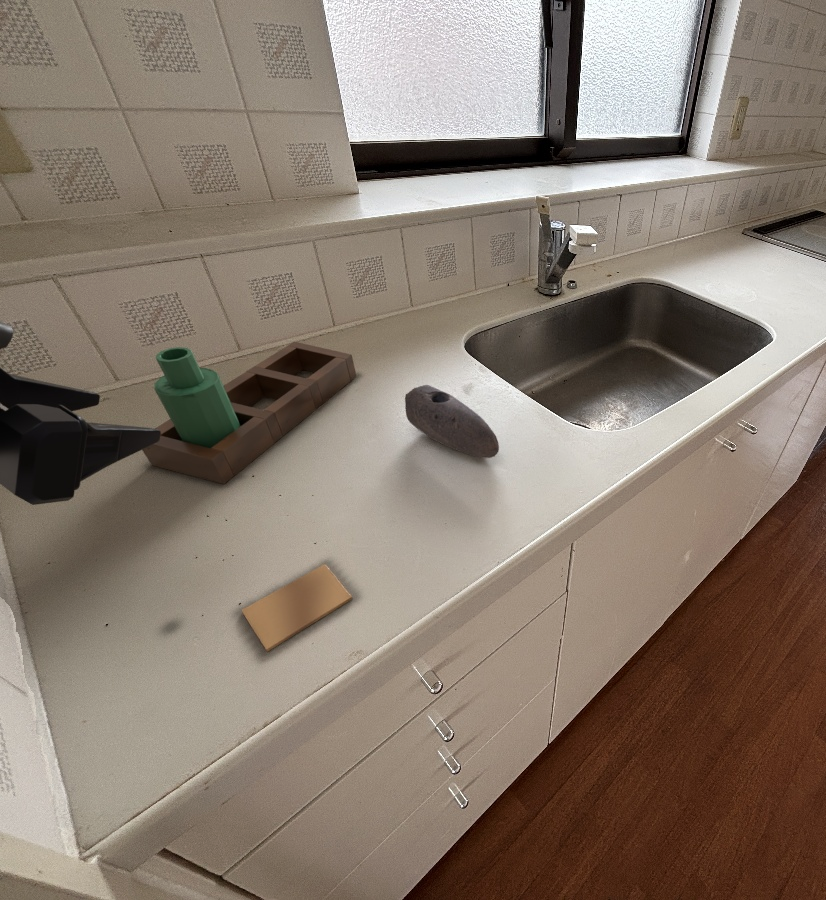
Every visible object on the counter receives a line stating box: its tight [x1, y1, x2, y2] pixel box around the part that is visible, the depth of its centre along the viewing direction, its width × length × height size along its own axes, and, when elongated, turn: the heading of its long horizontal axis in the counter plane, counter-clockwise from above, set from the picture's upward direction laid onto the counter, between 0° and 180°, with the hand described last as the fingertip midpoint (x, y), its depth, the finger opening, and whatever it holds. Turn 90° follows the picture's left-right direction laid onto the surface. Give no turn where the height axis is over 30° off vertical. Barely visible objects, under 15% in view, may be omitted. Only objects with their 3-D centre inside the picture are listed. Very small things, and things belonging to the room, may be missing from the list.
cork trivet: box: [241, 563, 353, 652], centre depth 49 cm, size 8×6×1 cm
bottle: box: [153, 346, 241, 448], centre depth 60 cm, size 6×6×14 cm
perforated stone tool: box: [404, 384, 500, 459], centre depth 68 cm, size 15×5×7 cm, turn 58°
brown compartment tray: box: [142, 341, 357, 485], centre depth 69 cm, size 27×10×4 cm, turn 167°
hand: (128, 416), depth 45 cm, fingers open, 9 cm apart
